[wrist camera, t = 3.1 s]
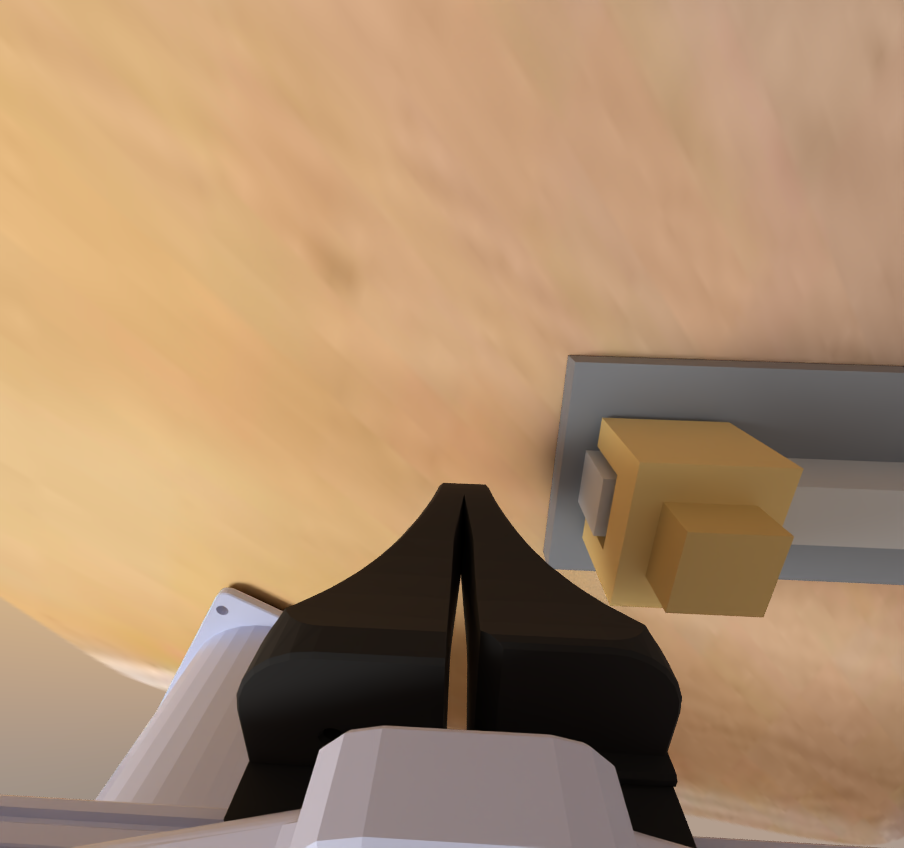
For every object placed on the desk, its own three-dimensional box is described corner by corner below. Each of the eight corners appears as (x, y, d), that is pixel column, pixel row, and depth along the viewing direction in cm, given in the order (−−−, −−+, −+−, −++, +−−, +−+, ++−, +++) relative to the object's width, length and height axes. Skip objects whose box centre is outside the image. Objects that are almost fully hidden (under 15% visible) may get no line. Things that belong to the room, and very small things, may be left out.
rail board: (543, 552, 17) (571, 661, 12) (568, 355, 14) (617, 402, 9) (899, 567, 17) (1066, 687, 12) (1000, 369, 14) (1271, 425, 9)
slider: (582, 537, 15) (625, 643, 11) (602, 417, 13) (662, 488, 9) (694, 542, 15) (782, 651, 11) (729, 422, 13) (847, 496, 9)
